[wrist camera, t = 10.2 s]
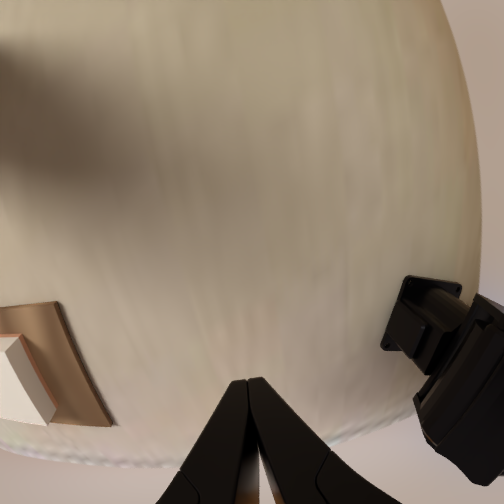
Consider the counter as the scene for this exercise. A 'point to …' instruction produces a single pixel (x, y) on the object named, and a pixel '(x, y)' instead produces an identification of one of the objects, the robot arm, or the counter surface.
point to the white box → (23, 384)
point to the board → (56, 362)
